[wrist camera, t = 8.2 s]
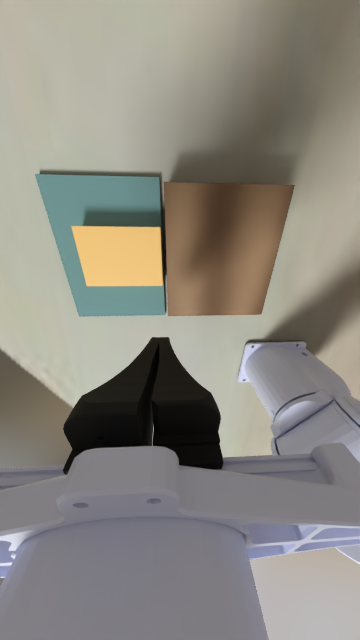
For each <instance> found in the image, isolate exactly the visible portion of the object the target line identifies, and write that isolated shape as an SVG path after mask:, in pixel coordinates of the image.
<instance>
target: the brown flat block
mask: <svg viewBox="0 0 360 640" xmlns="http://www.w3.org/2000/svg"><path fill="white" fill-rule="evenodd" d="M294 186H295V185H267V184H223V183H178V182H164V198H165V230H166V261H167V292H168V316H201V315H257V314H262V310H263V306H264V302H265V298H266V294H267V290H268V287H269V283H270V279H271V275H272V271H273V267H274V263H275V259H276V256H277V252H278V248H279V244H280V240H281V236H282V232H283V229H284V225H285V221H286V217H287V213H288V209H289V205H290V201H291V198H292V194H293V190H294Z"/></svg>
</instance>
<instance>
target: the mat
mask: <svg viewBox="0 0 360 640" xmlns="http://www.w3.org/2000/svg"><path fill="white" fill-rule="evenodd" d="M35 176H36V179H37V183H38V186H39V189H40V192H41V195H42V199H43V202H44V205H45V208H46V211H47V215H48V218H49V221H50V224H51V227H52V231H53V234H54V237H55V240H56V244H57V247H58V250H59V253H60V256H61V260H62V263H63V266H64V269H65V272H66V276H67V279H68V282H69V285H70V288H71V292H72V295H73V298H74V301H75V305H76V308H77V311H78V314H79V316H133V315H165V299H164V282H163V286H87V285H86V281H85V277H84V273H83V270H82V266H81V262H80V258H79V254H78V250H77V247H76V243H75V239H74V235H73V231H72V227H71V226H109V227H161V203H160V179H159V177H134V176H92V175H50V174H35ZM161 230H162V227H161ZM162 255H163V251H162ZM163 280H164V275H163Z"/></svg>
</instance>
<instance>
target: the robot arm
mask: <svg viewBox="0 0 360 640" xmlns="http://www.w3.org/2000/svg"><path fill="white" fill-rule="evenodd" d="M252 345H253V346H252ZM306 345H307V343H306V342H304V341H299V342H261V343H247V344H246V345H245V349H244V353H243V358H242V362H241V366H240V371H239V375H238V381H239V382H251V384H252V386H253V387H254V389H255V391H256V393H257V395H258V396H259V398H260V400H261V402H262V403H263V405H264V407H265V409H266V411H267V412H268V414H269V416H270V418H271V419H272V421H273V424H272V425H271V426H270V429H271V431H272V433H273V435H274V436H275V437H273V438H272V440H271V450H272V455H267V456H246V457H225V458H223V457H222V453H221V449H220V445H219V443H220V438H219V434H218V430H219V425H220V420H221V416H220V412H219V409H218V407H217V404H216V402H215V400H214V398H213V396H212V394H211V393H210V392H209V391H208V390H206V389H205V388H204V387H202V386H201V385H200V384H199V383H198V382H197V381H195V379H194V378H193V377H192V376H191V375H190V374H189V373H188V372H187V371H186V370H185V368H184V367H183V366H182V365H181V363H180V362H179V360H178V358H177V357H176V355H175V353H174V351H173V349H172V347H171V344H170V340H169V338H168V337H152V338H151V340H150V341H149V343H148V344H147V345H146V347H145V348H144V349H143V351H142V352H141V353H140V354H139V355H138V356H137V357H136V359H135V360H134V361H133V362H132V363H131V364H130V365H129V366H127V367H126V368H125V369H124V370H123V371H122V372H120V373H119V374H118V375H116V376H115V377H114V378H112V379H111V380H109V381H108V382H106V383H104V384H103V385H101V386H99V387H98V388H96V389H94V390H92V391H90V392H88V393H87V394H85V395H83V396H81V398H80V399H79V401H78V402H77V404H76V405H75V407H74V408H73V410H72V412H71V414H70V415H69V417H68V419H67V420H66V422H65V424H64V428H63V430H64V433H65V435H66V437H67V439H68V441H69V443H70V445H71V447H72V452H71V454H70V456H69V458H68V460H67V462H66V464H65V465H57V466H36V467H16V468H15V467H14V468H0V578H5V579H4V581H3V583H2V585H1V587H0V640H268V636H267V631H266V627H265V623H264V619H263V615H262V611H261V607H260V603H259V598H258V595H257V590H256V586H255V582H254V578H253V574H252V570H251V565H250V561H249V560H253V559H260V558H266V557H273V556H279V555H286V554H293V553H299V552H306V551H312V550H320V549H327V548H336V549H337V550H338V551H340V552H341V553H343V554H344V555H346V556H347V557H349V558H351V559H352V560H354V561H355V562H357V563H358V564H360V401H358V400H357V399H355V398H354V397H352V396H351V393H350V391H349V389H348V387H347V385H346V383H345V382H344V381H343V379H342V378H341V377H340V376H339V375H338V374H336V373H335V372H334V371H333V370H332V369H330V368H329V367H328V366H327V365H325V364H324V363H323V362H322V361H320V360H319V359H318V358H317V357H315V356H314V355H313V354H312V353H310V352H309V351H308V350H307V349H305V348H306ZM251 346H252V347H251ZM153 424H154V434H153ZM152 436H153V446H152Z"/></svg>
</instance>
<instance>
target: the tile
mask: <svg viewBox="0 0 360 640" xmlns="http://www.w3.org/2000/svg"><path fill="white" fill-rule="evenodd" d="M71 227H72V231H73V235H74V239H75V243H76V247H77V250H78V254H79V258H80V262H81V266H82V270H83V273H84V277H85V281H86V285H87V286H163V282H164V280H163V255H162V230H161V227H109V226H71Z"/></svg>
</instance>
